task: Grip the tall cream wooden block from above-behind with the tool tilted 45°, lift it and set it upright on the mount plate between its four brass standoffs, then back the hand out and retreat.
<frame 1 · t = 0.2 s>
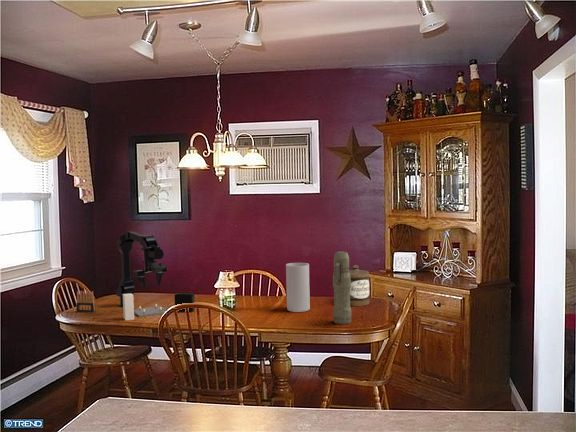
hand: (151, 287, 316), 14 cm above the table, tool pointing down, fingers open, 9 cm apart
electronic device: (185, 311, 318), on the table
cylinder vase: (298, 310, 316), on the table
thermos: (342, 322, 288), on the table
mount plate: (150, 312, 318), on the table
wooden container: (356, 303, 329), on the table
ammunition clip: (86, 312, 323), on the table
cream block: (129, 319, 303), on the table
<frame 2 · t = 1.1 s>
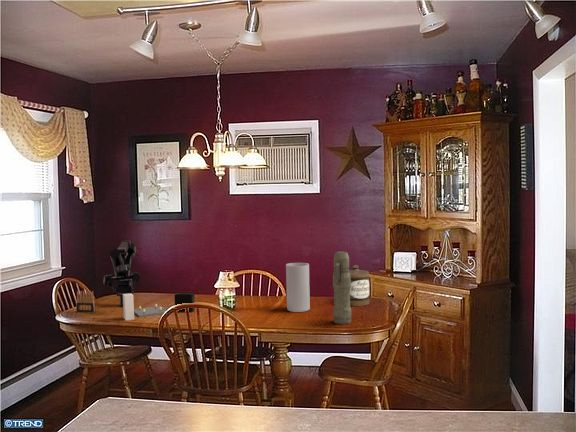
hand: (124, 291, 310), 13 cm above the table, tool tilted 45°, fingers open, 9 cm apart
nothing on the table moved.
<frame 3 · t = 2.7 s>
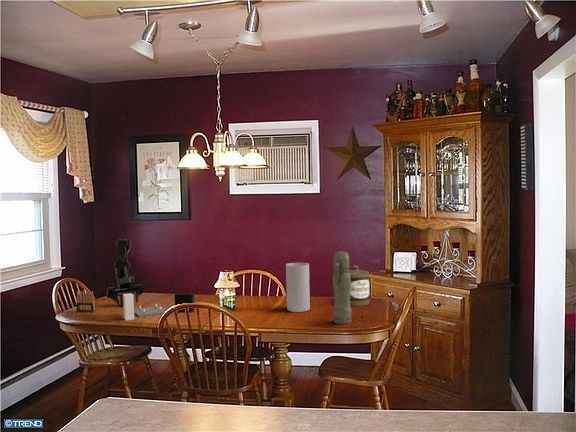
hand: (128, 303, 303), 8 cm above the table, tool tilted 45°, fingers open, 9 cm apart
nothing on the table moved.
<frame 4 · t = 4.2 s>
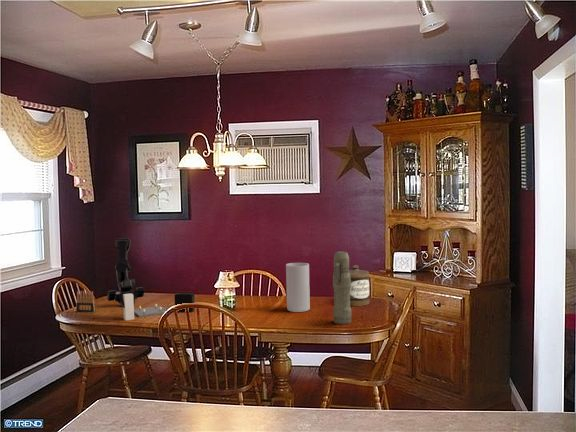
hand: (129, 307, 302), 7 cm above the table, tool tilted 45°, fingers closed on cream block, 4 cm apart
cream block: (129, 319, 303), on the table, touching gripper
everything else where it was.
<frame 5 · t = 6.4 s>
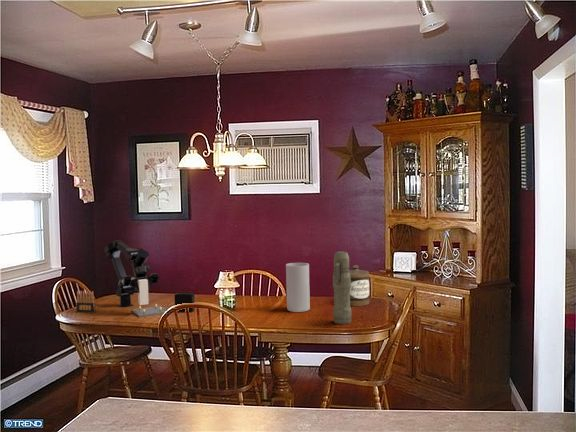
hand: (143, 292, 312), 12 cm above the table, tool tilted 45°, fingers closed on cream block, 4 cm apart
cream block: (143, 303, 314), point 6 cm above the table, touching gripper
everything else where it was.
when the fingers open (9 cm above the table, at t = 8.4 s): cream block drops 1 cm, resting on mount plate.
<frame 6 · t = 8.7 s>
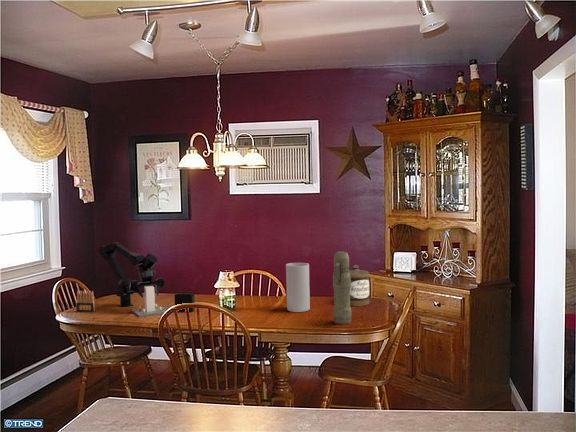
hand: (150, 296, 316), 9 cm above the table, tool tilted 45°, fingers open, 8 cm apart
cream block: (150, 310, 318), point 1 cm above the table, touching mount plate
everything else where it was.
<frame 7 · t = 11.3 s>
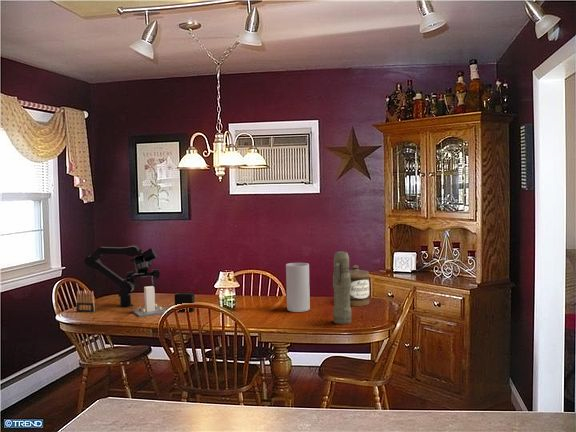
hand: (145, 287, 324), 13 cm above the table, tool tilted 45°, fingers open, 9 cm apart
nothing on the table moved.
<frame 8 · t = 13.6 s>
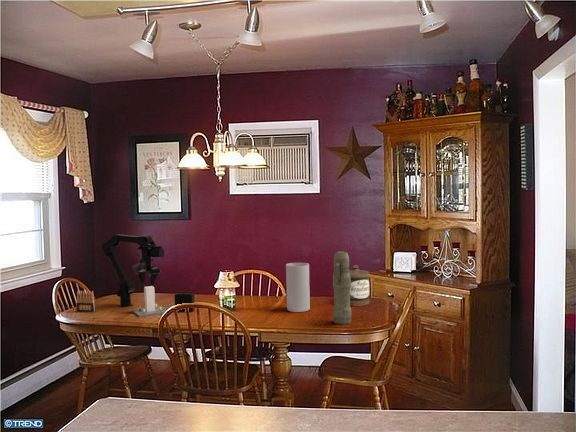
hand: (147, 284, 330), 13 cm above the table, tool pointing down, fingers open, 9 cm apart
nothing on the table moved.
at the end: cream block 0.1 cm off-centre on the mount plate, point 1.0 cm above the mount plate's base; cream block tilted 0°; the gripper is holding nothing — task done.
